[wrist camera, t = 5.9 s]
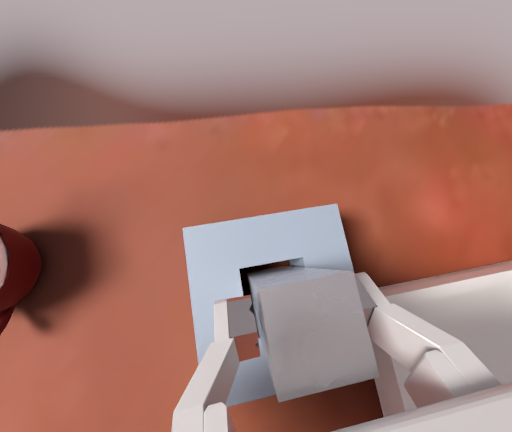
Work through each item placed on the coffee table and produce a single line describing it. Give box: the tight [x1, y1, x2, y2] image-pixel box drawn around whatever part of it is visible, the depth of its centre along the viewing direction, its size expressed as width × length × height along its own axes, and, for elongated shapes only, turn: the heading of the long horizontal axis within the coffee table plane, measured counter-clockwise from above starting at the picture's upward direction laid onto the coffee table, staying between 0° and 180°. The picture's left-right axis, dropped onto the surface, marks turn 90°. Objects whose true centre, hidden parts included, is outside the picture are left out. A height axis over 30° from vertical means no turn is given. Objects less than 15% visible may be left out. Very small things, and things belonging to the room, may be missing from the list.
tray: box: [371, 260, 512, 417], centre depth 15 cm, size 15×19×3 cm
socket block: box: [183, 204, 378, 407], centre depth 15 cm, size 10×10×4 cm
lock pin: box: [246, 266, 380, 403], centre depth 12 cm, size 3×3×11 cm
